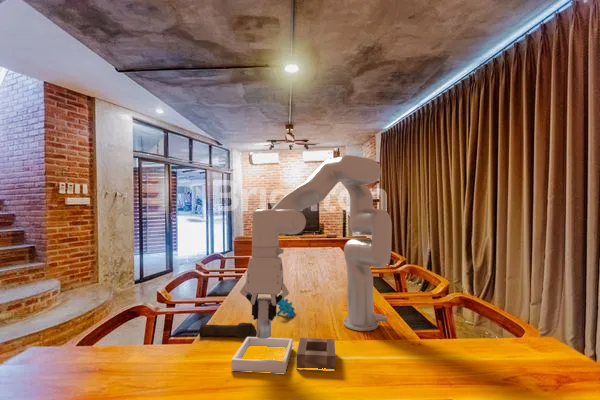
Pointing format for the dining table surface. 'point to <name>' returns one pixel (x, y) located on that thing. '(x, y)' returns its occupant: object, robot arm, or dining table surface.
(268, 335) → the pin
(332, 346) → the socket block
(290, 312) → the teal knobbly figurine
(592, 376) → the dining table surface
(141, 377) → the dining table surface
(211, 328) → the hand tool
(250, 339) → the tray
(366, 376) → the dining table surface
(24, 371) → the dining table surface
